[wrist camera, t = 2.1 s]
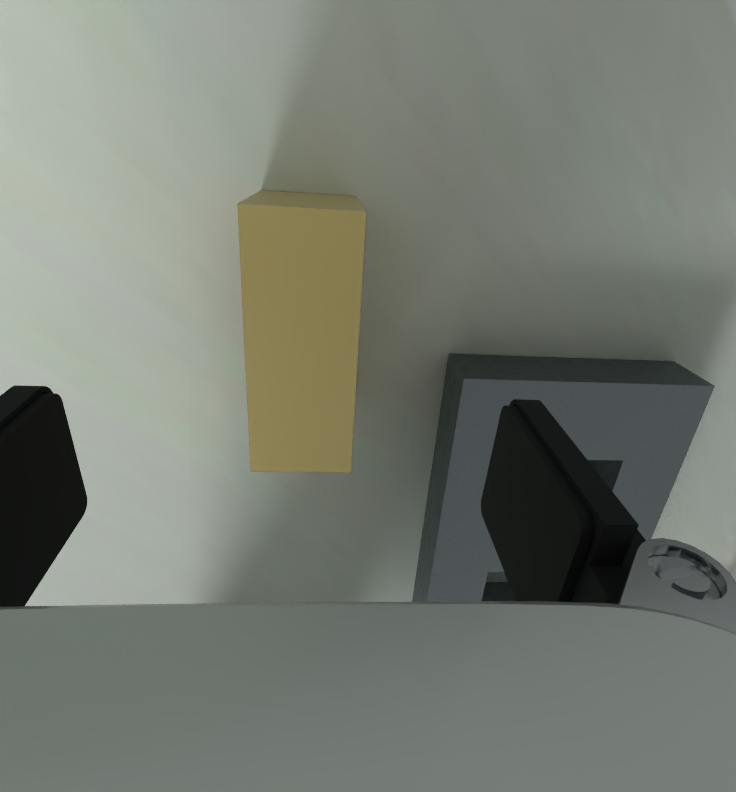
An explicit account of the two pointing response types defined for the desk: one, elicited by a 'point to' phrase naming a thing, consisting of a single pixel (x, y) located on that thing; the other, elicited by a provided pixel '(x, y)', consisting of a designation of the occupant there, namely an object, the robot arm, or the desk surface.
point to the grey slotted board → (582, 421)
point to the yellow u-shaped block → (301, 327)
